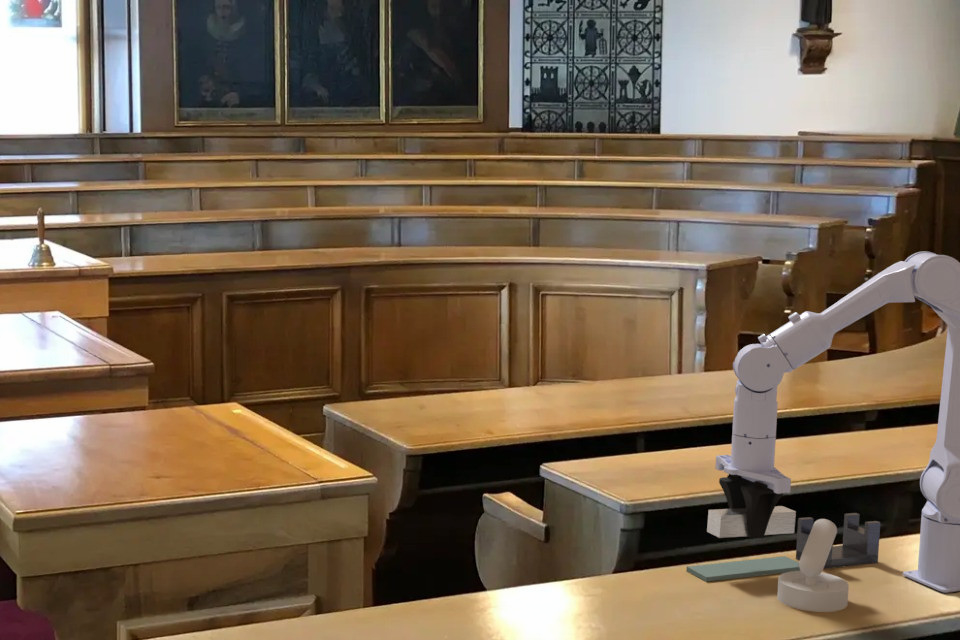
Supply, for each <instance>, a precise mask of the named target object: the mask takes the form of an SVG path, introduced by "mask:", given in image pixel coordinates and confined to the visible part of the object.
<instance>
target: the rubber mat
mask: <svg viewBox="0 0 960 640" xmlns="http://www.w3.org/2000/svg"><path fill="white" fill-rule="evenodd" d="M685 570H686V572H688V573H690V574H691V575H693V576H695V577H697V578H699V579H701V581H704V582H714V581H715V582H716V581H723V580H733V579H734V580H735V579H742V578H752V577H758V576H759V577H760V576H769V575H776V574H783V573H786V572H791V571H801V570H800V568H799V561H797V560H794V559H792V558H790V557H788V556H786V555H782V556H774V557H773V556H772V557H764V558H763V557H762V558H755V559H746V560H737V561H736V560H735V561H727V562H726V561H725V562H718V563H707V564H699V565H689V566H686V569H685Z"/></svg>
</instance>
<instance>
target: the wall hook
mask: <svg viewBox="0 0 960 640" xmlns="http://www.w3.org/2000/svg"><path fill="white" fill-rule="evenodd" d="M837 533H838V528H837V526H836V523H834V522H832V520H829V519H826V518H819V519H816V520H815V521H814V522H813V527H812V530H811V532H810V535H809V537H808V540H807V542H806V545H805V547H804V550H803V552H802V555H801V558H800V560H798V562H799V568H800V570H801V571H791V572H786V573H780V575H779V576H778V578H777V580H778V581H777V595H776V596H777V597H776V598H777V600H778V601H779V602H780V603H782V604H783V605H786V606H787V607H790V608H793V609H797V610H801V611H806V612H807V611H808V612H817V613H832V612H833V613H834V612H838V610H839V611H842V610H844V609H846V608H847V607H848V604H849V603H848V601H849V600H848V599H849V583H848V582H847V581H846V580H845V579H843V578H841V577H839V576H837V575H833V574H830V573H826V572H823V571H824V569H823V568H824V566H825V563H826V560H827V558H828V555H829V552H830V550H831V547H832V546H833V545H834V541H835V539H836V536H837ZM832 544H833V545H832ZM846 606H847V607H846ZM845 607H846V608H845ZM841 609H842V610H841Z"/></svg>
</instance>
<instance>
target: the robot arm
mask: <svg viewBox="0 0 960 640" xmlns="http://www.w3.org/2000/svg"><path fill="white" fill-rule="evenodd" d="M916 299H917V300H919V301H921V302H923V303H925V304H926V305H928V306H929V307H931V309H932V310H933V311H934V312H935V313H936V314H937V316H939V317H940V318H941V320H943V322H944V323H945V324H946V325H947V331H946V333H947V334H946V342H945V343H946V344H945V352H944V363H943V371H942V372H943V373H942V382H941V390H940V391H941V392H940V401H939V410H938V411H939V412H938V419H937V421H938V422H937V431H936V438H935V439H936V441H935V442H934V444H933V446H932V448H931V450H930V452H929V461H928V463H927V465H926V467H925V469H923V471H922V472H921V475H920V478H919V487H920V492H921V493H922V495H923V497H924V498H925V499H926V503H925V504H924V506H923V508H922V509H921V518H920V519H921V520H920V532H919V533H920V534H919V547H918V563H917V569H916V570H915V569H914V570H906V571H903V572H902V575H903V576H904V577H907V578H908V579H911V580H913V581H915V582H917V583H920V584H922V585H925V586H928V587H930V588H932V589H934V590H936V591H939V592H941V593H944V594H945V593H954V592H960V262H959V260H958V259H956V258H954V257H953V256H949V255H945V254H936V253H935V252H931V251H926V250H925V251H918V252H915V253H913V254H911V255H909V256H908V257H907V258H906V259H905V260H904V261H902V260H900V261H898V262H895V263H893V264H892V265H890V266H888V267H886V268H885V269H884V270H882V271H880V272H878V273H877V274H875V275H874V276H872V277H871V278H870V279H868V280H867V281H865V282H864V283H862V284H861V285H860V286H858V287H857V288H855V289H854V290H852V291H851V292H849V293H848V294H847V295H845V296H844V297H842V298H840V299H839V300H838V301H837V302H835V303H834V304H832V305H831V306H829V307H828V308H826V309H824V310H823V311H821V312H820V313H817V312H813V311H808V310H807V311H806V310H805V311H804V312H802V313H801V314H799V313H798V312H796V311H795V312H793V313H791V314H790V315H789V316H788V319H789V321H788V322H786V323H785V324H783V325H781V326H780V327H779V328H777V329H775V330H774V331H772V332H771V333H769V334H768V335H765V333H762V334H761V335H760V336H757V339H758V341H759V342H760V343H752V344H751V343H750V344H748V345H745V346H743V348H742V349H740V350H739V351H738V352H737V355H736V356H735V358H734V361H733V362H732V370H733V373H734V375H735V376H736V377H737V380H736V384H735V385H736V386H735V389H734V392H735V398H734V400H733V414H732V415H733V416H732V433H731V434H732V435H731V449H730V450H731V451H730V455H729V454H722V455H720V454H719V455H716V456H715V466H714V467H715V468H714V469H715V470H717V471H723V473H726V474H728V475H727V477H725V476H724V477H720V478H719V481H718V483H719V485H720V487H721V488H722V491H723V493H724V496H725V498H726V502H727V506H728V509H736V508H746V510H747V530H748V536H747V537H748V538H750V539H757V538H759V539H760V538H764V537H765V536H766V535H765V532H766V528H767V525H768V522H769V519H770V517H771V514H772V512H773V510H774V508H775V506H776V505H777V504H778V502H779V501H780V499H781V498H783V495H784V494H790V493H791V486H792V485H791V484H792V482H791V481H792V478H791V477H788V476H786V475H785V474H783V473H782V472H781V471H780V470H779V469H778V468H777V467H776V466H775V455H776V439H777V425H778V423H777V422H778V421H777V419H778V404H779V403H778V401H777V396H778V395H777V394H778V386H779V385H780V384H781V382H782V381H783V378H784V374H785V373H792V372H793V371H794V370H797V369H798V368H800V367H802V366H803V365H804V364H806V363H808V362H809V361H811V360H812V359H814V358H816V357H818V356H819V355H820V354H821V353H824V352H826V351H827V350H828V349H830V348H831V346H832V342H833V339H834V336H835V334H836V333H837V332H839V331H842V330H843V329H844V328H846V327H849V326H851V325H852V324H853V323H855V322H856V321H858V320H860V319H862V318H863V317H865V316H867V315H869V314H871V313H873V312H875V311H876V310H878V309H879V308H882V307H883V306H885V305H886V304H890V303H891V304H892V303H915V302H916Z"/></svg>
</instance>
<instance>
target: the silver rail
mask: <svg viewBox="0 0 960 640" xmlns="http://www.w3.org/2000/svg"><path fill="white" fill-rule="evenodd" d="M707 511H708V514H707V526H706V527H707V528H706V532H707V533H709V534H711V535H713V536H715V537H717V538H718V539H723V538H738V537H749V536H748V530H747V510H746V508H736V509H729V508H722V509H721V508H719V509H717V508H716V509H708V510H707ZM796 513H797V511H796V510H793V509H790V508H788V507H786V506H783V505H777V506H775V508H774V510H773V512H772V514H771V517H770V519H769V522H768V525H767V528H766V532H765V535H764V536H769V535H772V536H773V535H786V534H787V535H788V534H795V527H796V516H797V514H796Z"/></svg>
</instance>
